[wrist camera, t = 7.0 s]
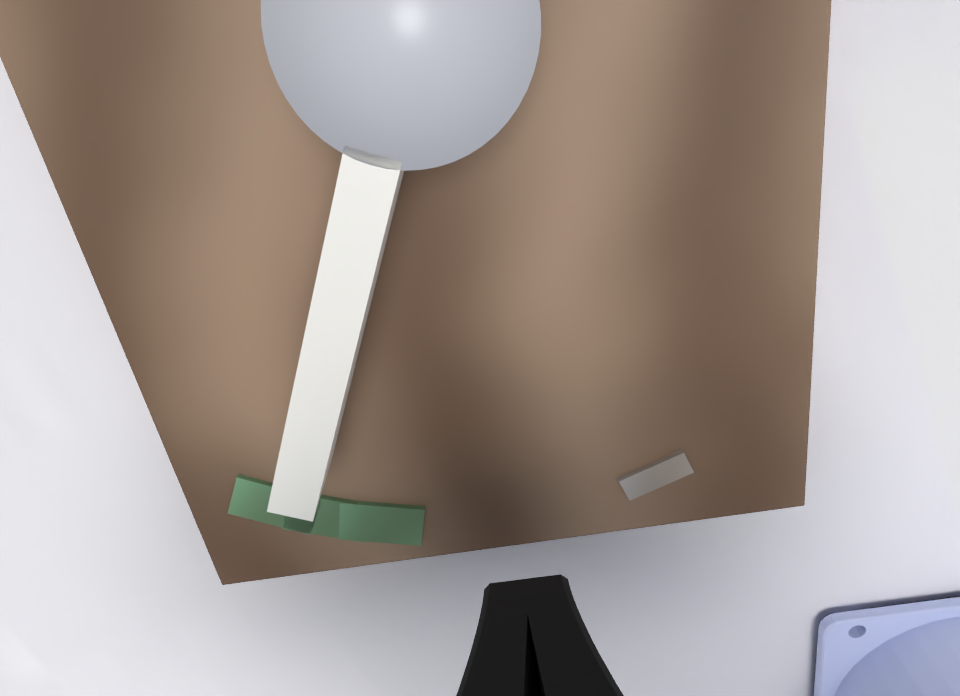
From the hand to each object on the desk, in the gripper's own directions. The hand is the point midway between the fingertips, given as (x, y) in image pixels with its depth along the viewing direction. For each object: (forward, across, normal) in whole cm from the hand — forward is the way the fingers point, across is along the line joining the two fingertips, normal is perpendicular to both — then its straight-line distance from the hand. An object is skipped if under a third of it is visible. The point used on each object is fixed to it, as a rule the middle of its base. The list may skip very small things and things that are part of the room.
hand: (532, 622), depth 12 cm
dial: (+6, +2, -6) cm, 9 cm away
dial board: (+7, +1, -6) cm, 9 cm away
